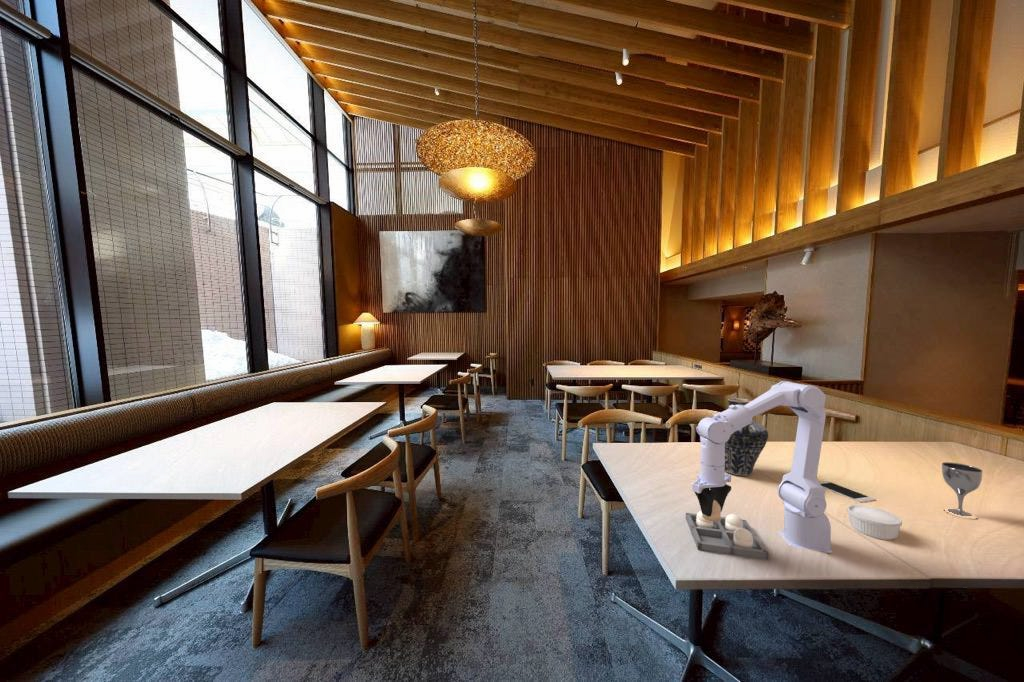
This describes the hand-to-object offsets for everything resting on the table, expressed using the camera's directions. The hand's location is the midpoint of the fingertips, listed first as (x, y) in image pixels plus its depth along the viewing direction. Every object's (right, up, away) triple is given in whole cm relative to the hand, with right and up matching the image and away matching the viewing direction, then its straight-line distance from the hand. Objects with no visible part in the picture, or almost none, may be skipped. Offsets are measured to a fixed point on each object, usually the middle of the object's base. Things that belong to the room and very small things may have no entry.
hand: (711, 512), depth 97 cm
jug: (+39, -7, +49) cm, 63 cm away
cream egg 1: (+2, -8, +8) cm, 11 cm away
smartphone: (+65, -8, +32) cm, 73 cm away
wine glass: (+87, -8, +16) cm, 89 cm away
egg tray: (+5, -9, +3) cm, 10 cm away
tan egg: (0, -1, 0) cm, 1 cm away
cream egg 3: (+7, -8, -2) cm, 11 cm away
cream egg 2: (+9, -8, +6) cm, 14 cm away
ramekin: (+50, -9, +7) cm, 52 cm away
